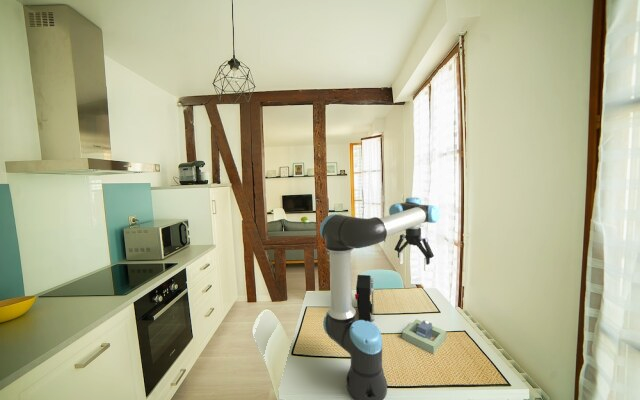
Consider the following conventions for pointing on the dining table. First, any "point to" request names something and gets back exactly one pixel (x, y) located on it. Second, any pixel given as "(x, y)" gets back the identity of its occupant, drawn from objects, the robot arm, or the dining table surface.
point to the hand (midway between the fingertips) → (413, 266)
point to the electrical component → (364, 297)
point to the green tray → (421, 341)
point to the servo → (425, 330)
